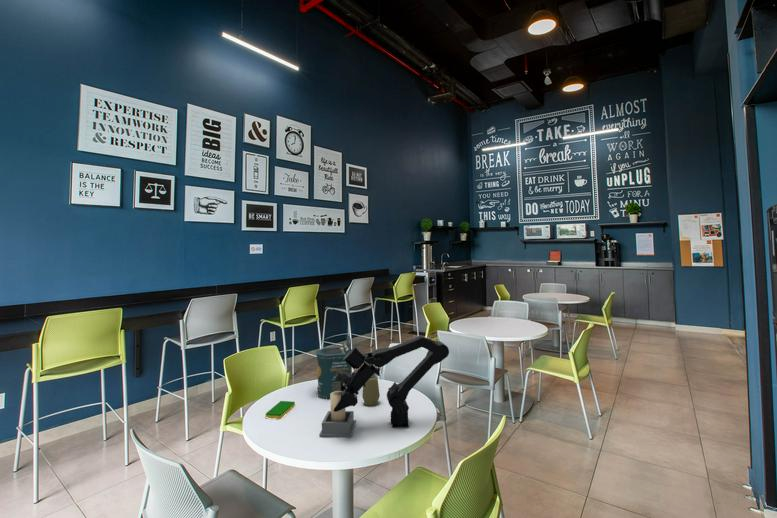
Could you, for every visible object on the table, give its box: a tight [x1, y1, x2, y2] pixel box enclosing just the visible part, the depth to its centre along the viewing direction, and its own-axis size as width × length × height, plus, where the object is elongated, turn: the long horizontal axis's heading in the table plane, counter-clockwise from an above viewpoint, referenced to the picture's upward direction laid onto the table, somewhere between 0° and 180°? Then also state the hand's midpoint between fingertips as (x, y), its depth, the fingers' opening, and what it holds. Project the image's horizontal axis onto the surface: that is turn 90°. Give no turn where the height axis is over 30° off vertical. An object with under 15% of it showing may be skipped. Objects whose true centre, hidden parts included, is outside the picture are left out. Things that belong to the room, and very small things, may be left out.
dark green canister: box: [316, 332, 352, 401], centre depth 178 cm, size 16×16×28 cm
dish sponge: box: [265, 400, 296, 420], centre depth 158 cm, size 7×14×2 cm, turn 169°
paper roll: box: [329, 391, 346, 422], centre depth 140 cm, size 6×6×13 cm
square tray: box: [319, 410, 357, 438], centre depth 140 cm, size 12×12×5 cm
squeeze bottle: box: [361, 373, 381, 407], centre depth 164 cm, size 8×8×18 cm
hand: (334, 406), depth 140 cm, fingers open, 8 cm apart
